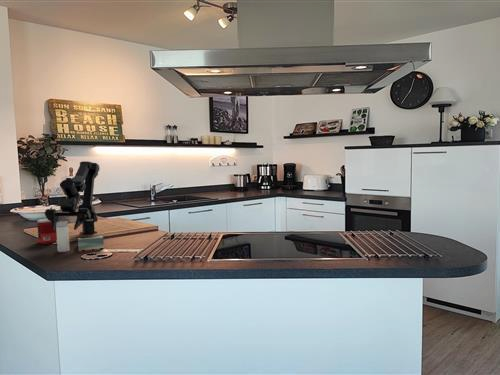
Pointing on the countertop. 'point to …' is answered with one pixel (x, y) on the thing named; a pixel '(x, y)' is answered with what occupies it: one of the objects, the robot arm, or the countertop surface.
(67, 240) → the mill
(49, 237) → the canned food
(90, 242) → the stand
